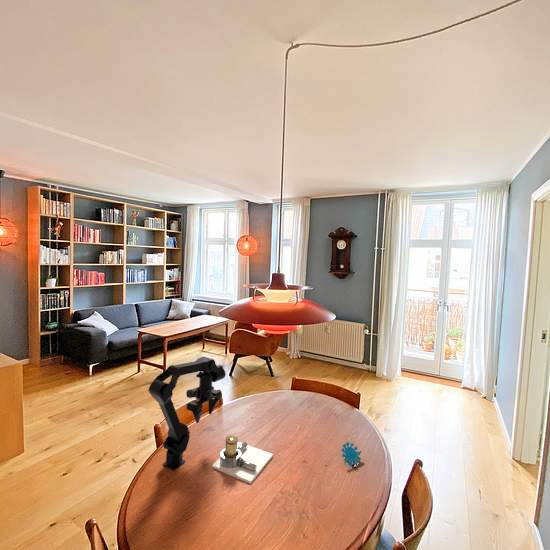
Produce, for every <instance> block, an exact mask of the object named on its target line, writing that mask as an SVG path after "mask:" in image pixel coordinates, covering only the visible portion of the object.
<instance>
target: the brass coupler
mask: <svg viewBox="0 0 550 550" xmlns="http://www.w3.org/2000/svg"><path fill="white" fill-rule="evenodd" d="M237 442H239V441H238V437H237V436H236V435H232V434H231V435H227V436H226V437H225V442H224V443H225V445H224V449H225V457H226V458H235V457H236V456H237Z"/></svg>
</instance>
